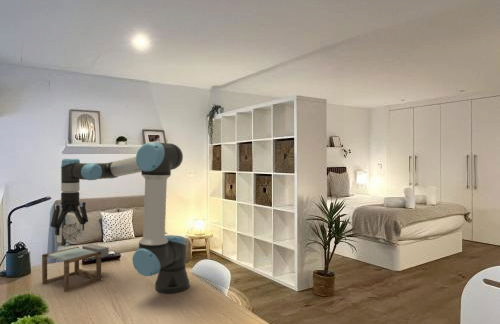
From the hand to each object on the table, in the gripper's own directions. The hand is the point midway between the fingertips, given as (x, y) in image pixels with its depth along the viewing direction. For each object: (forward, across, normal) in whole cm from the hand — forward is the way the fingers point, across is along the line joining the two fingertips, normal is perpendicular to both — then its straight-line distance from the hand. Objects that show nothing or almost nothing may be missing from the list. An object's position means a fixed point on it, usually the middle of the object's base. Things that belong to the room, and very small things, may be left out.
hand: (69, 239), depth 156 cm
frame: (+20, -2, 0) cm, 20 cm away
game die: (0, 0, 0) cm, 0 cm away
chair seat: (+10, -5, -1) cm, 12 cm away
